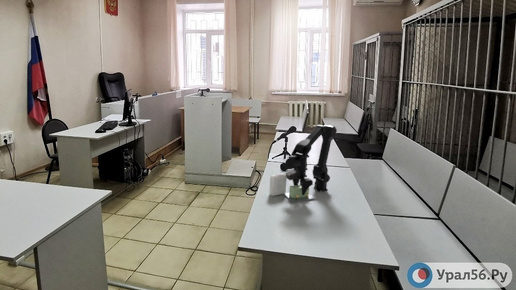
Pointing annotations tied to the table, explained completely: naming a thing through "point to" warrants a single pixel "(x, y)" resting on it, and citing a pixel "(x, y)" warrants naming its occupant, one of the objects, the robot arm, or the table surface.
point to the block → (297, 191)
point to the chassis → (298, 199)
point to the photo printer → (277, 184)
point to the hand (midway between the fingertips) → (299, 192)
